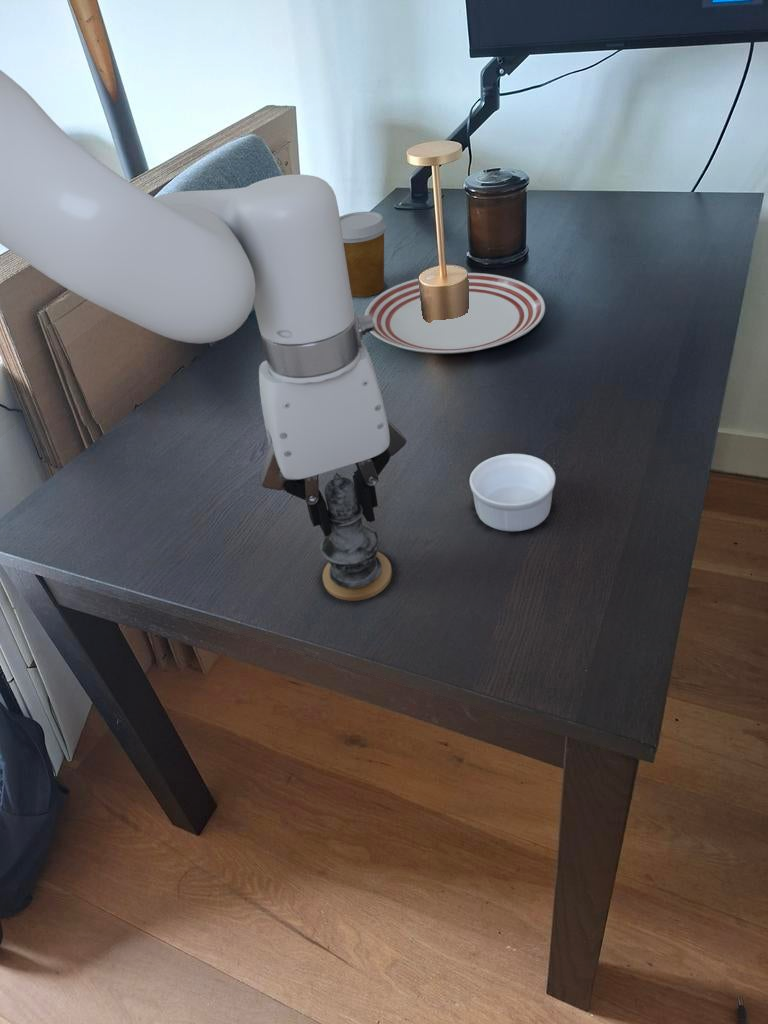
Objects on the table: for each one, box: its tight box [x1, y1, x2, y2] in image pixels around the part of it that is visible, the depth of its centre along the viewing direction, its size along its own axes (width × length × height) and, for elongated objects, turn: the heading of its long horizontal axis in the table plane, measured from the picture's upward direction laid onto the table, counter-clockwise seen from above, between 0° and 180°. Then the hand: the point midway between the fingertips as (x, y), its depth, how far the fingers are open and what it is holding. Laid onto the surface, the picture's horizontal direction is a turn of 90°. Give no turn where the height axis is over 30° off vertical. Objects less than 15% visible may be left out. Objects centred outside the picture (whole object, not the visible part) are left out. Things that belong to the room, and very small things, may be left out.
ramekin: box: [469, 453, 557, 532], centre depth 80 cm, size 9×9×4 cm
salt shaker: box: [319, 472, 381, 588], centre depth 72 cm, size 6×6×12 cm
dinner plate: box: [364, 272, 546, 355], centre depth 117 cm, size 28×27×3 cm
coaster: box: [322, 551, 393, 602], centre depth 76 cm, size 7×7×1 cm
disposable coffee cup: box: [339, 211, 387, 298], centre depth 129 cm, size 10×10×12 cm
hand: (345, 518), depth 72 cm, fingers closed on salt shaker, 3 cm apart
